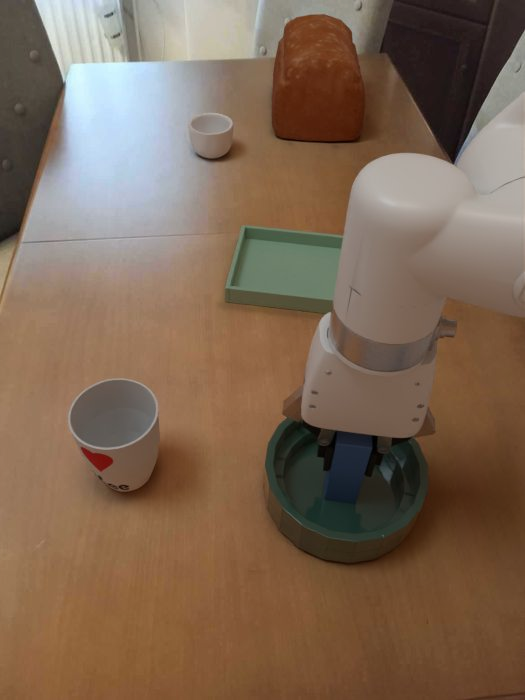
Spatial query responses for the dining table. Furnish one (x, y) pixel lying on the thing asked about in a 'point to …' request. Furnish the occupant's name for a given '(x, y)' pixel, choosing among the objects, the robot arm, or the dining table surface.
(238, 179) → the dining table surface
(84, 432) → the cup
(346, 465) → the block
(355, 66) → the bread
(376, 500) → the green bowl
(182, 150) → the dining table surface
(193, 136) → the teacup
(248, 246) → the tray
